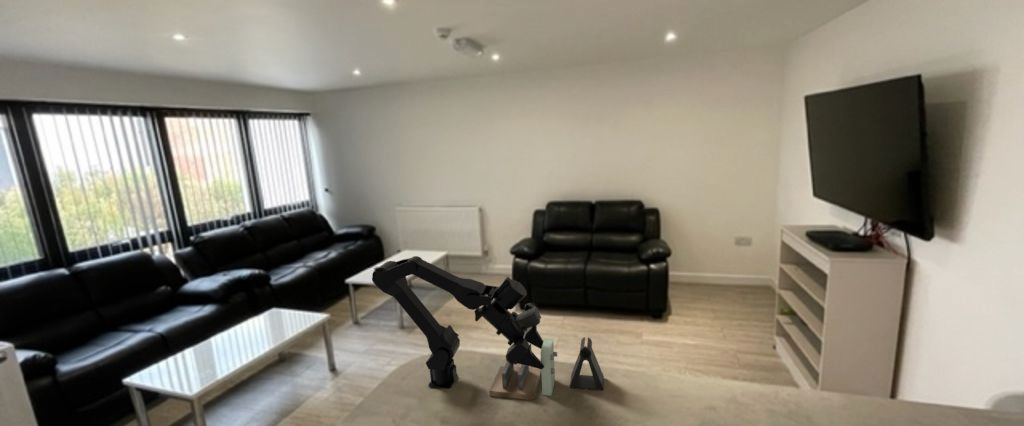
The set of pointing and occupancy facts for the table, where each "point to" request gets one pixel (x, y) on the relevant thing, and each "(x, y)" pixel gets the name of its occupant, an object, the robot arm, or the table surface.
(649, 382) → the table surface
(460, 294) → the robot arm
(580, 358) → the grey triangular stand
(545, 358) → the door panel
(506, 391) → the hinge base
